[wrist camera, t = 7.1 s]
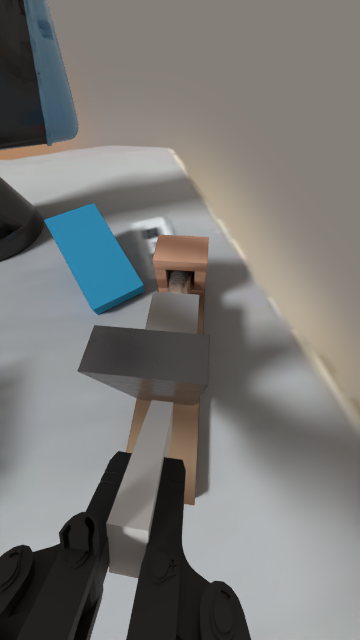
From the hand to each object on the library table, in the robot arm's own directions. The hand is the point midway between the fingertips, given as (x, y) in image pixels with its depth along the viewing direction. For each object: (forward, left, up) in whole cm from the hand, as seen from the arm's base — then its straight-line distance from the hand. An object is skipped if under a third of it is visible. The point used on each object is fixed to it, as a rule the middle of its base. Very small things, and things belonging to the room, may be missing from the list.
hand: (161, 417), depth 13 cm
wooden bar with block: (-6, +2, -5) cm, 8 cm away
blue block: (-23, -6, -6) cm, 25 cm away
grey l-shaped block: (-9, +3, -4) cm, 10 cm away
